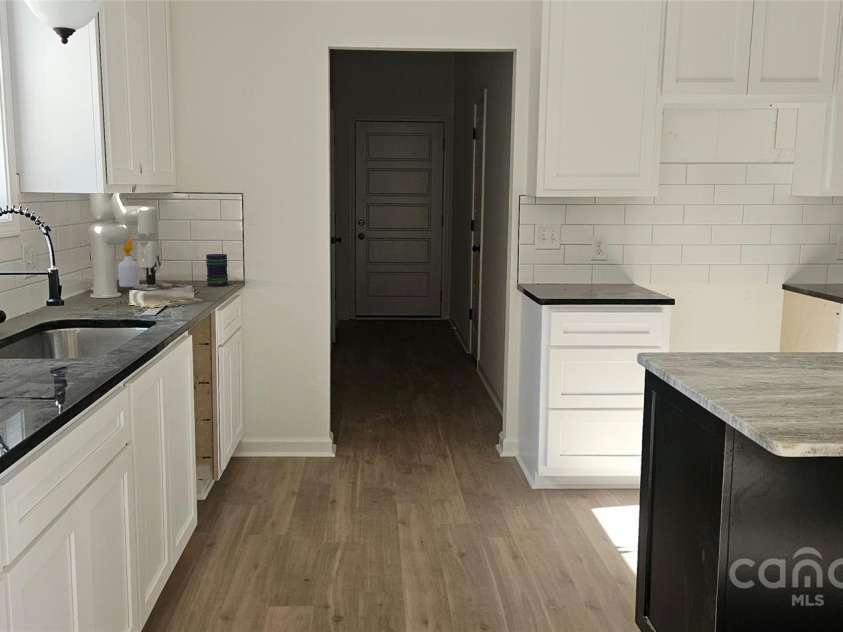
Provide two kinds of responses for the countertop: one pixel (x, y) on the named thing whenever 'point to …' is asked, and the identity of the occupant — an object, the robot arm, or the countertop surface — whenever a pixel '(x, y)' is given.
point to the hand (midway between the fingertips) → (151, 284)
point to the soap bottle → (128, 268)
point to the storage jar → (217, 270)
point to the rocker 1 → (144, 286)
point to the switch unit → (163, 296)
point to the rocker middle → (163, 285)
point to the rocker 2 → (179, 282)
